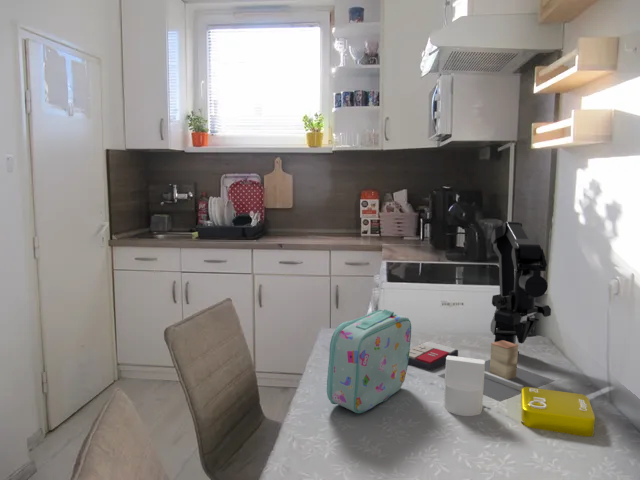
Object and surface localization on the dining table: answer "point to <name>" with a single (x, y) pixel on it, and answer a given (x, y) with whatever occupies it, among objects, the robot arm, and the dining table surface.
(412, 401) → the dining table surface
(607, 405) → the dining table surface
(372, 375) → the lunch box
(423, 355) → the calculator
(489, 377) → the mat
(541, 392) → the element tile
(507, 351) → the beech block
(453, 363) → the cylinder with rectangular tab
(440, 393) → the dining table surface
